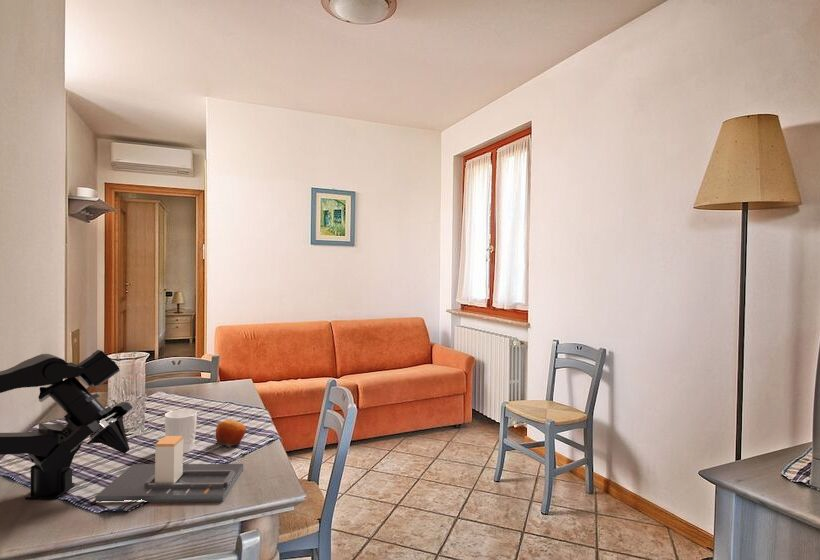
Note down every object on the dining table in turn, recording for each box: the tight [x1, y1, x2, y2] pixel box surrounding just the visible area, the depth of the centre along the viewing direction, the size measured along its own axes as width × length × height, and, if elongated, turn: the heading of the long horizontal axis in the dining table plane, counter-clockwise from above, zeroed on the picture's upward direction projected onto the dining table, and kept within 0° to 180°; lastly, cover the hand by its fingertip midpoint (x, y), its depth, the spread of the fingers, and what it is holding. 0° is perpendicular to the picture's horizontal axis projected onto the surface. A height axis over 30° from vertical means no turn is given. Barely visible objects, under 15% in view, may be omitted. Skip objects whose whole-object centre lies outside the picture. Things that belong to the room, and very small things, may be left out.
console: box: [94, 463, 244, 504], centre depth 108 cm, size 26×16×2 cm, turn 95°
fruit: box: [215, 419, 247, 450], centre depth 133 cm, size 8×8×8 cm
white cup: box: [164, 408, 198, 455], centre depth 128 cm, size 8×8×10 cm
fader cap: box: [154, 435, 184, 483], centre depth 107 cm, size 4×5×9 cm
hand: (127, 451), depth 107 cm, fingers closed
